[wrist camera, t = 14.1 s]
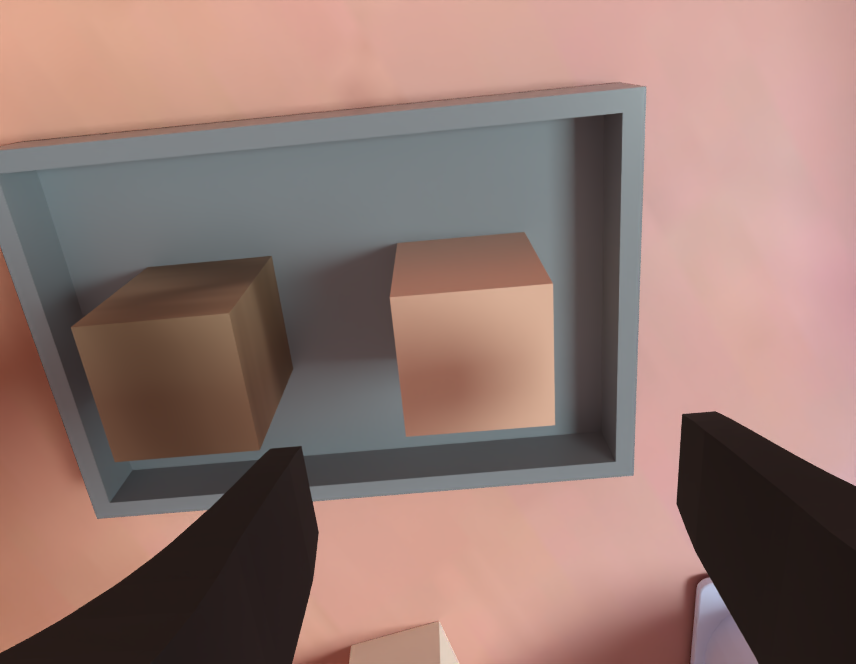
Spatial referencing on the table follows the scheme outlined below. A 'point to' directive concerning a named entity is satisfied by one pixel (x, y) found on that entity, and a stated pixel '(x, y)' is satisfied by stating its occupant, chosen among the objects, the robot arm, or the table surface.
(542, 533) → the table surface
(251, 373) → the walnut block
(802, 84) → the table surface
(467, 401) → the peach block
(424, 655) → the cream block
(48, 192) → the tray
